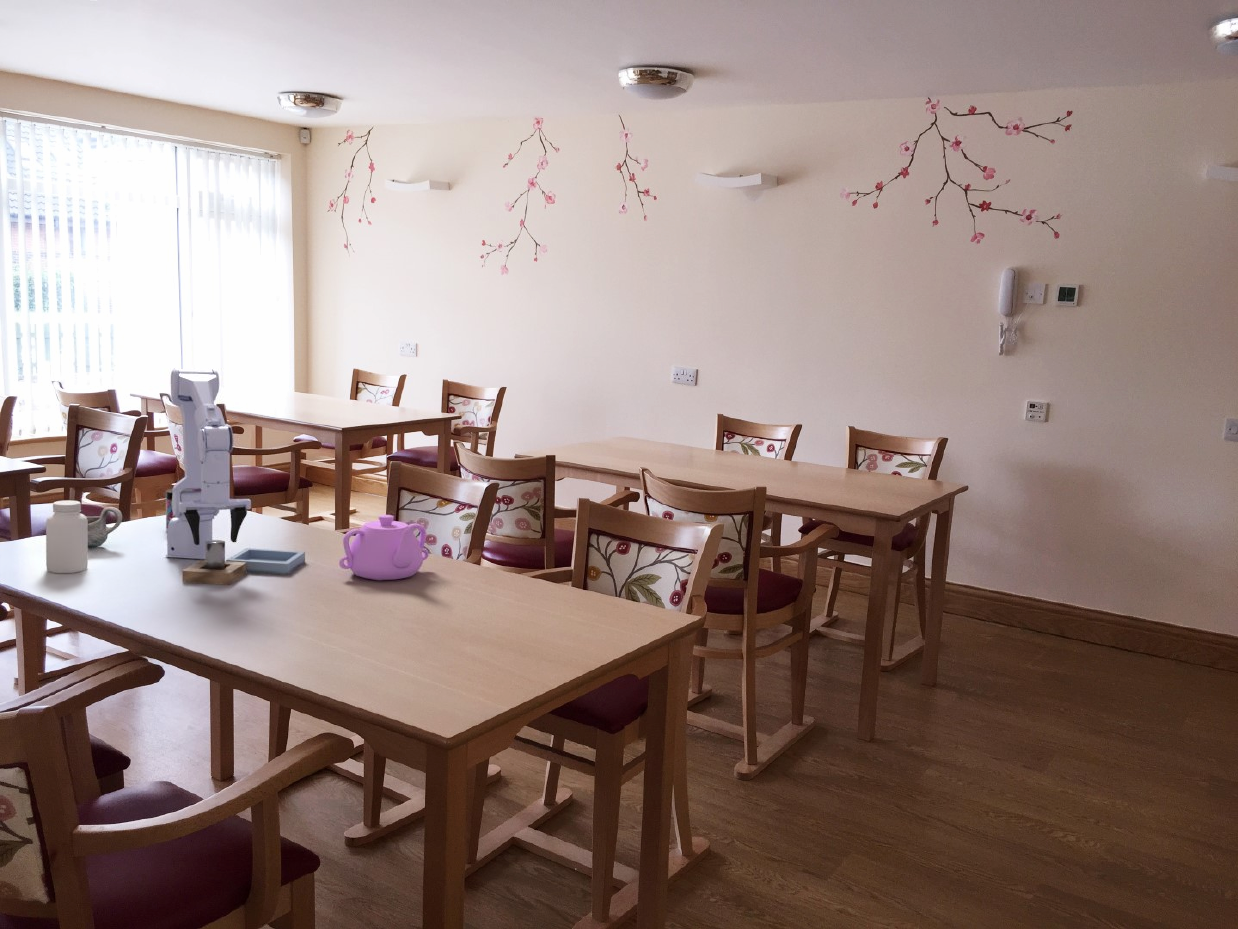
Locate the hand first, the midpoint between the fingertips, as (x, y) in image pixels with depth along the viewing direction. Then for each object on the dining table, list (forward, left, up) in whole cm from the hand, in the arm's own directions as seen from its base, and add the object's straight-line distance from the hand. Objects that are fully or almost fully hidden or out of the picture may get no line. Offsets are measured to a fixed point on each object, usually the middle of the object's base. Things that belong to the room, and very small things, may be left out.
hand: (215, 542), depth 219 cm
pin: (0, 0, -8) cm, 8 cm away
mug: (-37, +19, -8) cm, 42 cm away
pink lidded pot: (+36, +10, -8) cm, 38 cm away
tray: (+7, +12, -8) cm, 16 cm away
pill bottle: (-32, -1, -8) cm, 33 cm away
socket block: (0, 0, -8) cm, 8 cm away
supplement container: (-27, +43, -8) cm, 51 cm away
